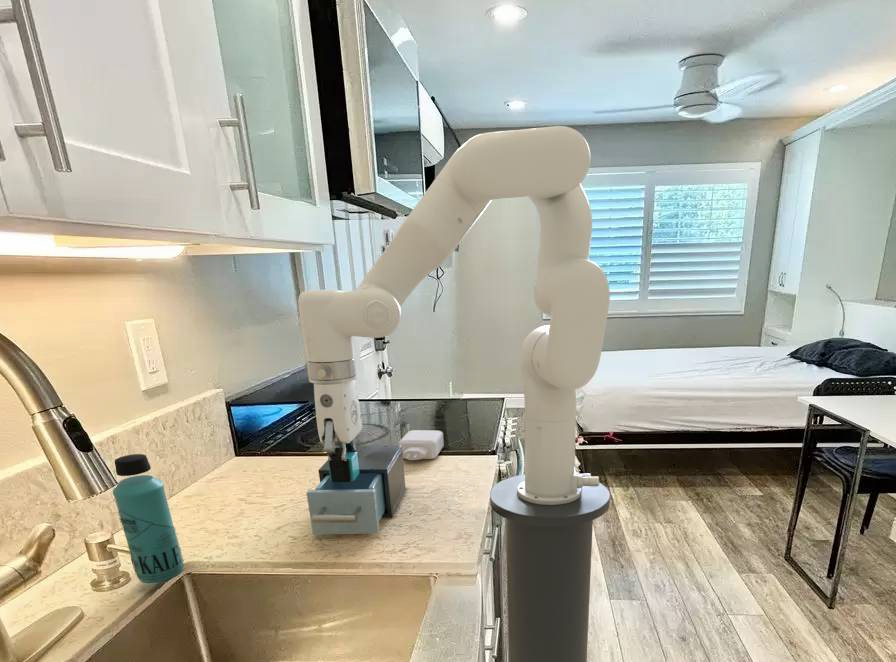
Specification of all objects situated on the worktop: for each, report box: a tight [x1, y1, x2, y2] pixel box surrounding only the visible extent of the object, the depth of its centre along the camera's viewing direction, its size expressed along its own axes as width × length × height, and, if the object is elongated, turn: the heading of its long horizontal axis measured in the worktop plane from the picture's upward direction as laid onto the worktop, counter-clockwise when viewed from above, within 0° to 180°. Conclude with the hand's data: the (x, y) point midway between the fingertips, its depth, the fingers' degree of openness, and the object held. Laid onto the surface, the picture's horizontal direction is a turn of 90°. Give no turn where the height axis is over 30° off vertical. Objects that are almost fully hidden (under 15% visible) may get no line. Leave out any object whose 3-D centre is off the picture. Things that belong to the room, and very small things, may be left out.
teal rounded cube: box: [327, 452, 359, 481], centre depth 98 cm, size 4×4×4 cm
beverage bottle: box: [112, 453, 185, 584], centre depth 83 cm, size 6×7×20 cm
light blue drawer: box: [306, 473, 387, 535], centre depth 101 cm, size 18×11×8 cm, turn 178°
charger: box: [397, 429, 445, 461], centre depth 138 cm, size 5×9×15 cm
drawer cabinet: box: [317, 444, 407, 519], centre depth 111 cm, size 15×13×10 cm
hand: (345, 475), depth 99 cm, fingers closed on teal rounded cube, 4 cm apart
